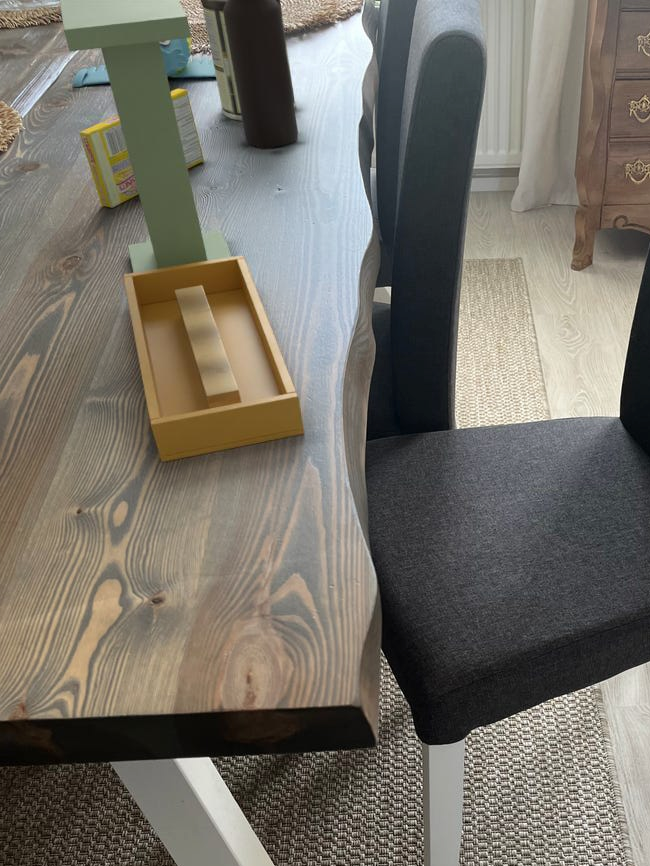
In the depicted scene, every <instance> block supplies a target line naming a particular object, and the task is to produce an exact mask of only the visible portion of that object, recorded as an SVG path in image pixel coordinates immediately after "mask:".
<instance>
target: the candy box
mask: <svg viewBox="0 0 650 866" xmlns="http://www.w3.org/2000/svg"><path fill="white" fill-rule="evenodd" d="M170 92H171V97H172V101H173V106H174V110H175V115H176V119H177V124H178V128H179V133H180V137H181V142H182V146H183V151H184V156H185V160H186V165H187V169H188V170H189V169H190V168H193V167H195V166H197V165H198V164H201V163H203V162H204V161H205V157H204V155H203V150H202V147H201V146H202V145H201V143H200V138H199V134H198V130H197V126H196V122H195V119H194V113H193V110H192V106H191V105H192V104H191V102H190V97H189V93H188V89H183V88H176V89H173V90H170ZM79 136H80V139H81V143H82V146H83V149H84V152H85V155H86V160H87V162H88V165H89V168H90V172H91V175H92V178H93V181H94V185H95V188H96V191H97V194H98V198H99V201H100V204H101V206H103V207H107V208H110V209H113V208H115V207H117V206H119V205H121V204H122V203H125V202H127V201H128V200H130V199H132V198H134V197H137V196H139V193H138V189H137V185H136V181H135V177H134V173H133V169H132V166H131V162H130V158H129V154H128V150H127V146H126V142H125V139H124V135H123V131H122V127H121V123H120V119H119V115H118V114H117V115H115V116H113V117H111V118H109V119H106V120H104V121H102V122H100V123H97V124H94V125H92V126H90V127H88V128H85V129H83V130H81V131H79Z"/></svg>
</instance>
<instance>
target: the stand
mask: <svg viewBox="0 0 650 866" xmlns="http://www.w3.org/2000/svg"><path fill="white" fill-rule="evenodd" d="M58 1H59V7H60V14H61V21H62V27H63V33H64V36H65V39H66V43H67V47H68V50H69V52H78V51H87V50H96V49H100V50H101V53H102V58H103V61H104V65H105V69H107V73H108V77H109V81H110V83H109V84H110V89H111V92H112V95H113V100H114V103H115V107H116V111H117V115H119V119H120V123H121V127H122V131H123V135H124V139H125V142H126V146H127V150H128V154H129V158H130V162H131V166H132V169H133V173H134V177H135V181H136V185H137V189H138V193H139V194H138V196H139V199H140V205H141V209H142V211H143V216H144V218H145V219H144V220H145V223H146V227H147V231H148V235H149V239H150V241H146V242H145V241H144V242H140V243H132V244H128V245H127V249H128V253H129V258H130V259H129V260H130V263H131V269H132V273H135V272H141V271H147V270H153V269H160V268H166V267H172V266H178V265H184V264H191V263H197V262H203V261H209V260H215V259H222V258H228V257H233V255H232V254H231V251H230V248H229V246H228V243H227V240H226V237H225V234H224V232H223V230H217V231H210V232H204V233H203V232H202V229H201V224H200V219H199V215H198V209H197V206H196V201H195V197H194V193H193V188H192V182H191V179H190V175H189V169H187V165H186V160H185V156H184V151H183V146H182V142H181V137H180V133H179V128H178V124H177V119H176V115H175V110H174V106H173V101H172V97H171V90H170V89H171V88H170V84H169V80H168V76H167V74H166V70H165V65H164V61H163V56H162V52H161V47H160V43H159V41H166V40H175V39H183V38H190V39H191V38H192V34H191V28H190V24H189V19H188V15H187V13H186V12H185V9H184V7H183V6H182V3H181V1H180V0H58ZM186 15H187V16H186Z"/></svg>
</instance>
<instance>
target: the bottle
mask: <svg viewBox="0 0 650 866" xmlns="http://www.w3.org/2000/svg"><path fill="white" fill-rule="evenodd" d="M223 14H224V20H225V25H226V31H227V37H228V42H229V48H230V54H231V59H232V65H233V70H234V76H235V82H236V87H237V93H238V98H239V104H240V110H241V115H242V121H241V122H242V126H243V132H244V137H245V140H246V142H247V143H248V144H249V145H250V146H253V147H256V148H261V149H275V148H281V147H285V146H289V145H291V144H292V143H295V141H296V140H297V139H298V137H299V130H298V123H297V116H296V115H297V114H296V107H295V108H294V101H293V94H292V87H291V80H290V73H291V72H290V73H289V66H290V65H289V66H288V59H289V58H288V59H287V52H286V45H287V44H286V45H285V38H284V31H283V24H282V17H281V10H280V6H279V4H278V2H277V1H276V0H228V1H227V2H226V4H225V6H224V9H223Z"/></svg>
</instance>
